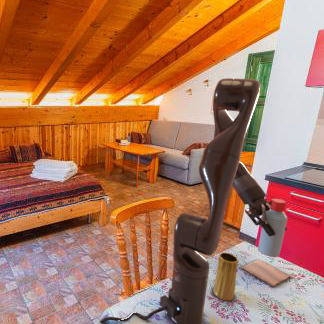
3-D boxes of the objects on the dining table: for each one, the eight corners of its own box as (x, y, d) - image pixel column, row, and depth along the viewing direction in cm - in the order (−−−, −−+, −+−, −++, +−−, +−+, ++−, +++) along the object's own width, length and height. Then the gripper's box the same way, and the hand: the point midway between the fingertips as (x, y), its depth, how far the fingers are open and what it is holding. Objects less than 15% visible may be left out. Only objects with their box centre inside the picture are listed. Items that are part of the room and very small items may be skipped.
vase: (213, 297, 83) (218, 259, 79) (212, 285, 88) (217, 249, 85) (234, 303, 80) (240, 265, 77) (233, 290, 85) (238, 254, 82)
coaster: (273, 286, 87) (273, 285, 87) (241, 268, 96) (241, 267, 96) (290, 277, 91) (290, 276, 91) (258, 260, 101) (258, 259, 101)
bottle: (273, 259, 83) (284, 207, 78) (254, 249, 88) (263, 200, 83) (283, 254, 85) (294, 203, 81) (264, 245, 91) (273, 197, 86)
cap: (280, 212, 80) (282, 203, 80) (267, 208, 84) (269, 199, 83) (286, 210, 82) (288, 201, 81) (274, 206, 85) (275, 197, 84)
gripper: (243, 187, 85) (276, 235, 77) (268, 181, 91) (301, 224, 83) (226, 196, 91) (255, 241, 83) (250, 190, 97) (280, 231, 89)
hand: (278, 233), depth 83 cm, fingers closed on bottle, 6 cm apart
